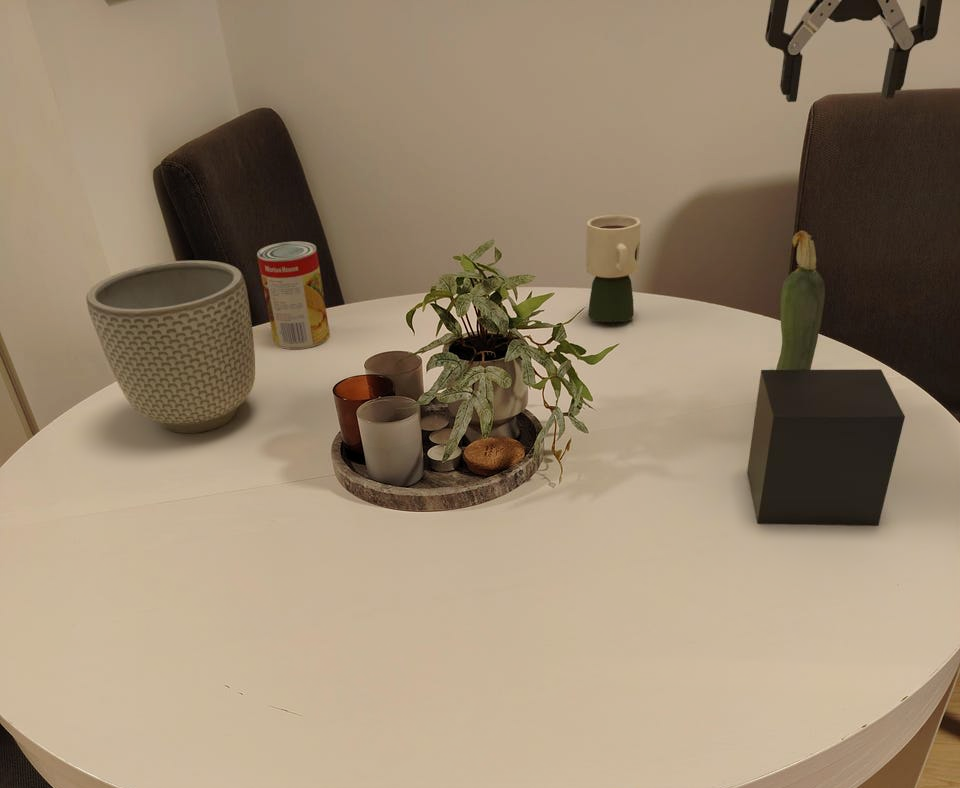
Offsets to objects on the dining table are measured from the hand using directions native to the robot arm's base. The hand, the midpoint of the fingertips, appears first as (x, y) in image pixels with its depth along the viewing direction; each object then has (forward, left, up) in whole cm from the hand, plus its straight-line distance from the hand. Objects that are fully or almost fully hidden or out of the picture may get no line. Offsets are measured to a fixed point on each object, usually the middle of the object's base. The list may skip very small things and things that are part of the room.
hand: (839, 98), depth 87 cm
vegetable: (+1, 0, -32) cm, 32 cm away
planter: (+69, +1, -32) cm, 76 cm away
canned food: (+63, -24, -32) cm, 75 cm away
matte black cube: (0, +18, -31) cm, 36 cm away
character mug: (+20, -30, -32) cm, 48 cm away
